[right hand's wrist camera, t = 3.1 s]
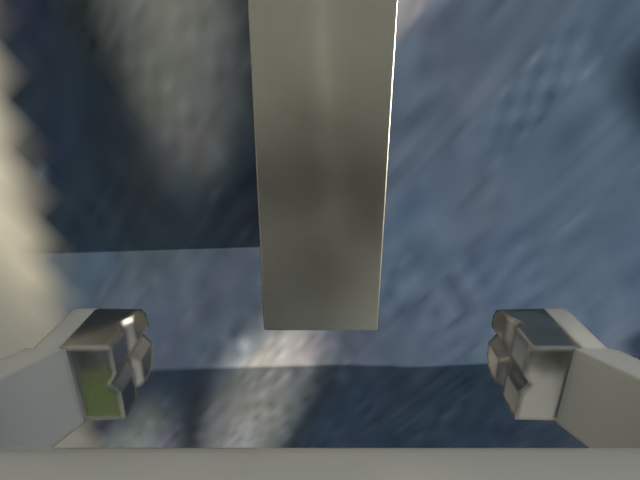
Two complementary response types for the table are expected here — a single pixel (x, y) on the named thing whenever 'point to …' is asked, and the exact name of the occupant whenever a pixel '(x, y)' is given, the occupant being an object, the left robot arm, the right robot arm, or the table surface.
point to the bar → (322, 157)
